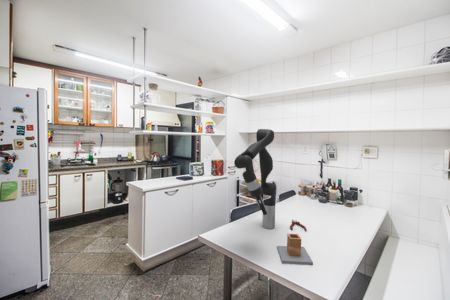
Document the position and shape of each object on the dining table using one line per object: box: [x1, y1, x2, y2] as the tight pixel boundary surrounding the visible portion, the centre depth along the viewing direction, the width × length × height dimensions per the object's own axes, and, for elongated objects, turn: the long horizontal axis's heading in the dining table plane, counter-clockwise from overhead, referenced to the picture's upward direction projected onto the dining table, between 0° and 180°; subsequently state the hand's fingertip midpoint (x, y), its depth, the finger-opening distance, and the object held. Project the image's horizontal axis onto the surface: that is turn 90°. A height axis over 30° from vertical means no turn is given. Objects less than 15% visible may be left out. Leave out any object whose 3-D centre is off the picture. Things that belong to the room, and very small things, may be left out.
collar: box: [286, 233, 302, 257], centre depth 120 cm, size 6×6×10 cm
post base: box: [276, 245, 314, 266], centre depth 120 cm, size 16×16×8 cm
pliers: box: [289, 218, 308, 232], centre depth 164 cm, size 12×20×3 cm, turn 172°
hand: (264, 211), depth 127 cm, fingers open, 8 cm apart
